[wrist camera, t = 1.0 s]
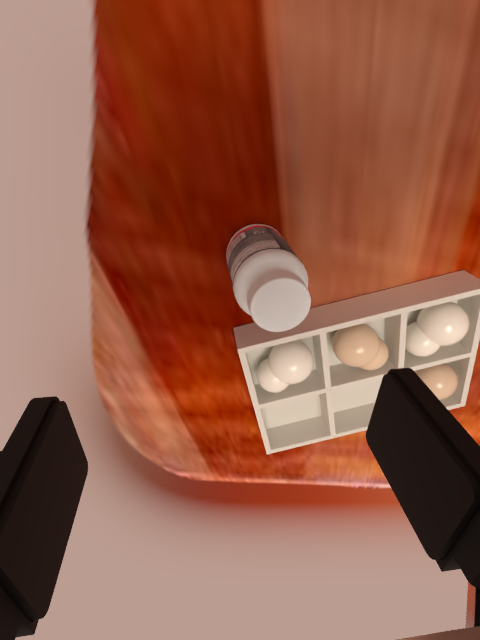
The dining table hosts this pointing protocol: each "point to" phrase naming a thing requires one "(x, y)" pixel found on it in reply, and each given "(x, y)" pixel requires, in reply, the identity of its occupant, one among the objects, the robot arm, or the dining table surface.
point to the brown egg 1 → (360, 347)
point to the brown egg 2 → (439, 379)
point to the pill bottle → (268, 278)
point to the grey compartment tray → (354, 382)
